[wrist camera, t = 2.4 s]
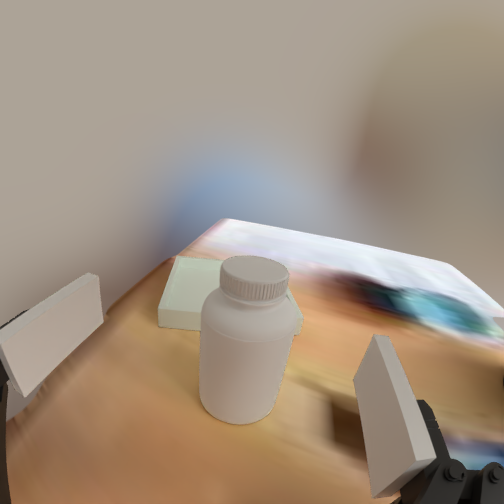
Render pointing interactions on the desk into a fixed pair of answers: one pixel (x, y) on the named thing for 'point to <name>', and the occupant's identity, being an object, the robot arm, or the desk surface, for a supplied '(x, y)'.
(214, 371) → the pill bottle
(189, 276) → the tray
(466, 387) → the desk surface
